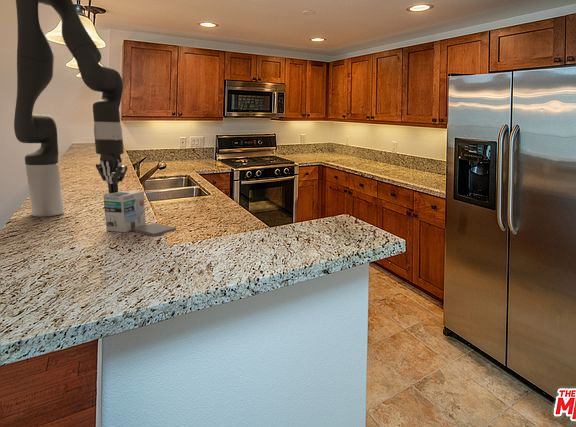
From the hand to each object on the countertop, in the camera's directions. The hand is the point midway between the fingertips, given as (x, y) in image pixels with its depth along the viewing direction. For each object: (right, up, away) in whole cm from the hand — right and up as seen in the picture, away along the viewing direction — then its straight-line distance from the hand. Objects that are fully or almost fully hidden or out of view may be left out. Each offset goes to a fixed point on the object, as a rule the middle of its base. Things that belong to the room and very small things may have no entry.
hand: (113, 195), depth 112 cm
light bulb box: (+4, -10, -1) cm, 11 cm away
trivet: (+14, -11, -4) cm, 18 cm away
